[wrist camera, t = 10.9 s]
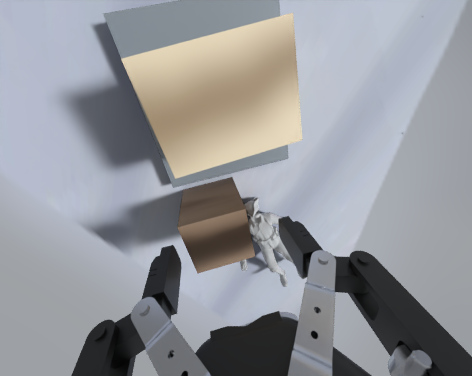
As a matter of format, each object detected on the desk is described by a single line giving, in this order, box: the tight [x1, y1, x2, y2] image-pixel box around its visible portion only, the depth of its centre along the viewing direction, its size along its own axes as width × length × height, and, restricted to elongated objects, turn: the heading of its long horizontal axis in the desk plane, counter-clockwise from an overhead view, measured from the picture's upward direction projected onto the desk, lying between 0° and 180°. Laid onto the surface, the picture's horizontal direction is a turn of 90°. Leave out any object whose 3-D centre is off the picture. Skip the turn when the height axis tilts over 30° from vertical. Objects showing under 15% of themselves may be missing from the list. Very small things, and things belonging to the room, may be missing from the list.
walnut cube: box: [177, 177, 255, 273], centre depth 17 cm, size 5×5×6 cm
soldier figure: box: [240, 198, 305, 287], centre depth 21 cm, size 8×5×12 cm
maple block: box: [121, 13, 302, 179], centre depth 12 cm, size 6×8×5 cm
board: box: [104, 0, 288, 188], centre depth 15 cm, size 12×11×1 cm
